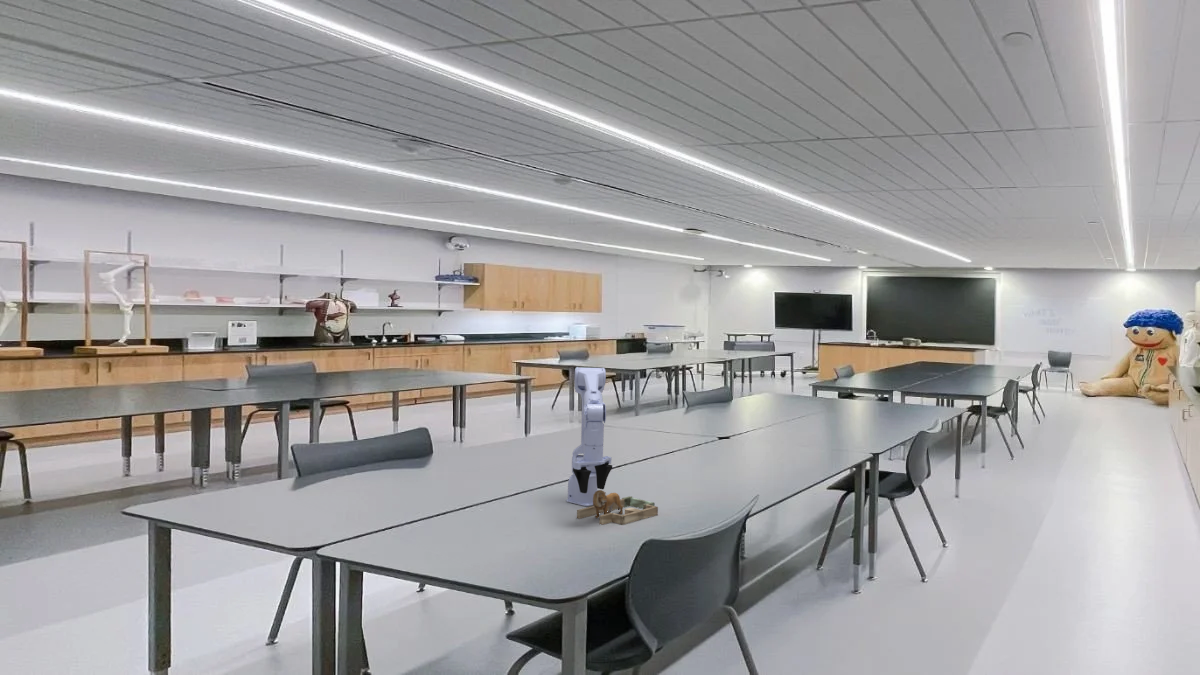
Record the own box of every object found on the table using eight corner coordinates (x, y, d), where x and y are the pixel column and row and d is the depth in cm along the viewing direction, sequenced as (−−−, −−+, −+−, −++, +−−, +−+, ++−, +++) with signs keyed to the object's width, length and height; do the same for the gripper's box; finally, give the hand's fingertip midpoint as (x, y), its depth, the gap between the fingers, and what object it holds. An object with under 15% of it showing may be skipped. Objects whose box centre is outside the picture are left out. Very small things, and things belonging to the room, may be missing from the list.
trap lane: (576, 518, 235) (577, 508, 235) (629, 504, 254) (630, 496, 253) (612, 527, 226) (612, 518, 225) (664, 513, 244) (664, 504, 244)
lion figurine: (603, 522, 231) (604, 492, 230) (587, 520, 233) (588, 490, 233) (626, 512, 243) (627, 483, 243) (611, 510, 246) (612, 481, 246)
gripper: (587, 449, 221) (585, 496, 222) (619, 443, 232) (618, 489, 233) (568, 445, 226) (567, 492, 226) (601, 440, 237) (600, 485, 237)
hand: (592, 490), depth 230 cm, fingers open, 7 cm apart
